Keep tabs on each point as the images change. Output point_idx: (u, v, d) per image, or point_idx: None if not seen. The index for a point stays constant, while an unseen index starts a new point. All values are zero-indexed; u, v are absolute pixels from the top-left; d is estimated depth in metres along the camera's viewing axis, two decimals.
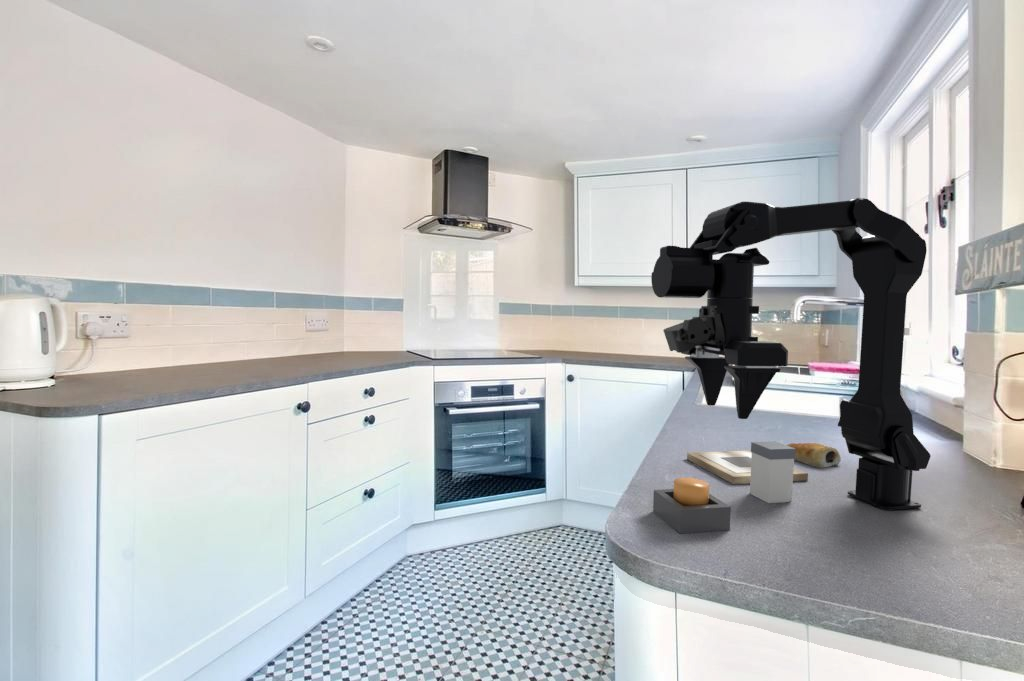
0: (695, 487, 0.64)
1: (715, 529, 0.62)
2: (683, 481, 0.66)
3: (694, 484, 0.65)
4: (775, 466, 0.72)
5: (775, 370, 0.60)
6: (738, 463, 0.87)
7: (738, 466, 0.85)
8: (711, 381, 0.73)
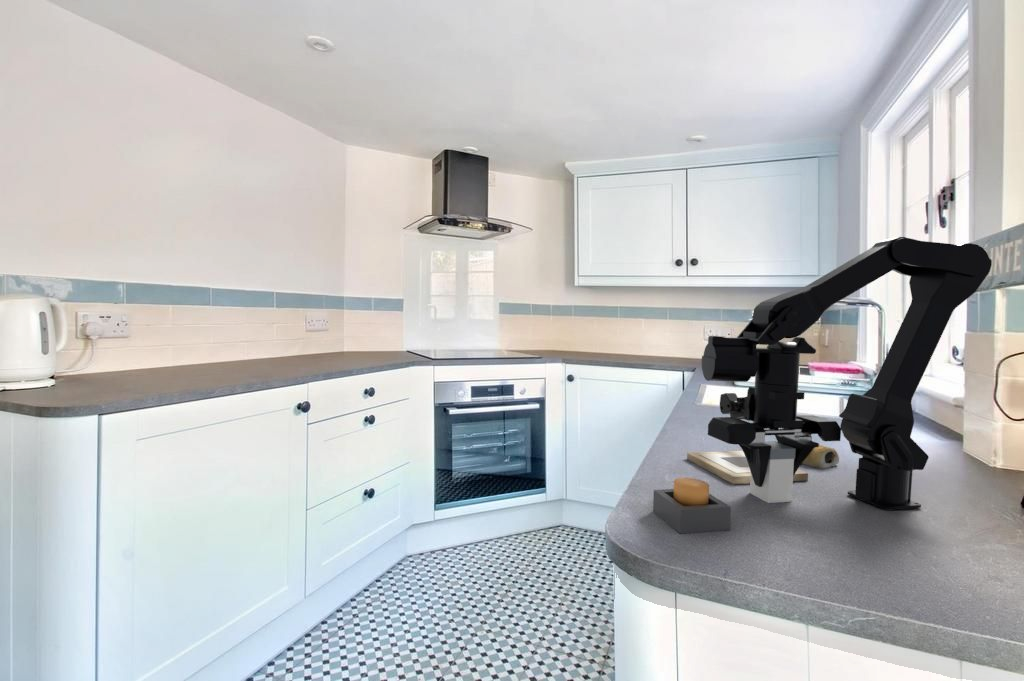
0: (695, 487, 0.64)
1: (715, 529, 0.62)
2: (683, 481, 0.66)
3: (694, 484, 0.65)
4: (775, 466, 0.72)
5: (749, 446, 0.71)
6: (738, 463, 0.87)
7: (738, 466, 0.85)
8: None
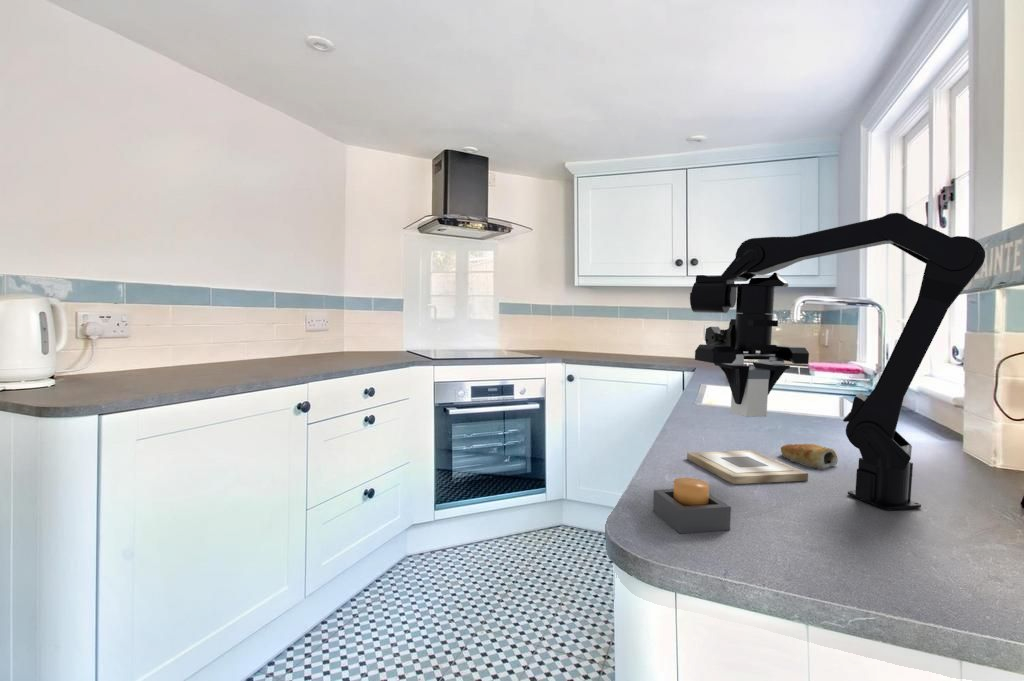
0: (695, 487, 0.64)
1: (715, 529, 0.62)
2: (683, 481, 0.66)
3: (694, 484, 0.65)
4: (752, 385, 0.83)
5: (730, 366, 0.82)
6: (738, 463, 0.87)
7: (738, 466, 0.85)
8: None
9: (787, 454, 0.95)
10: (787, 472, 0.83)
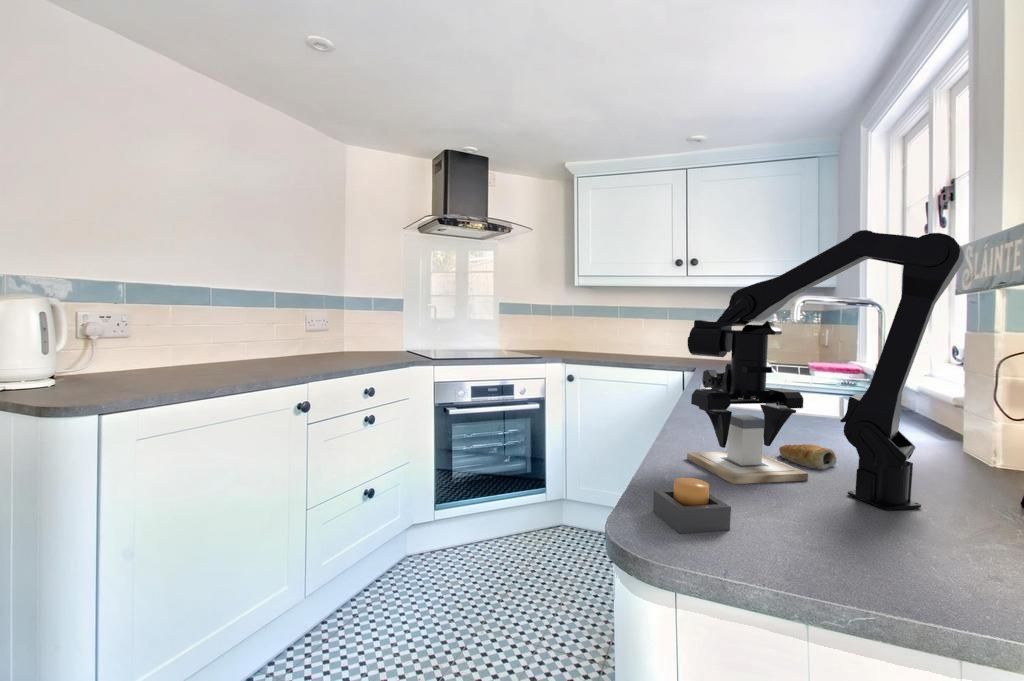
0: (695, 487, 0.64)
1: (715, 529, 0.62)
2: (683, 481, 0.66)
3: (694, 484, 0.65)
4: (747, 434, 0.86)
5: (713, 412, 0.84)
6: None
7: (738, 466, 0.85)
8: (768, 426, 0.89)
9: (786, 454, 0.94)
10: (787, 472, 0.83)
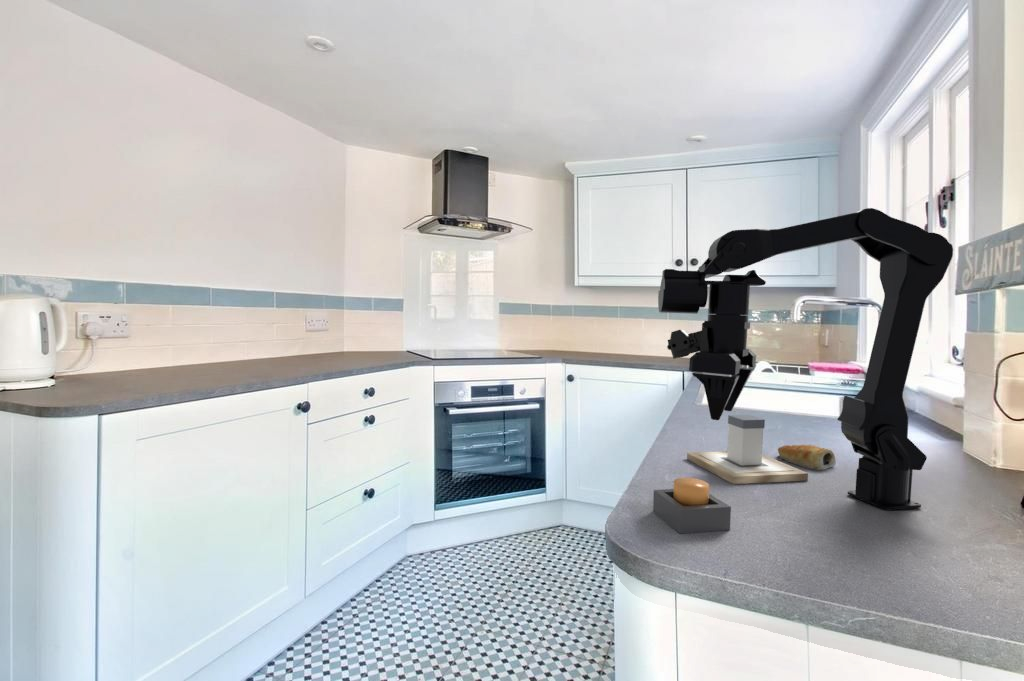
0: (695, 487, 0.64)
1: (715, 529, 0.62)
2: (683, 481, 0.66)
3: (694, 484, 0.65)
4: (747, 434, 0.86)
5: (727, 378, 0.69)
6: None
7: (738, 466, 0.85)
8: None
9: (785, 455, 0.94)
10: (787, 472, 0.83)
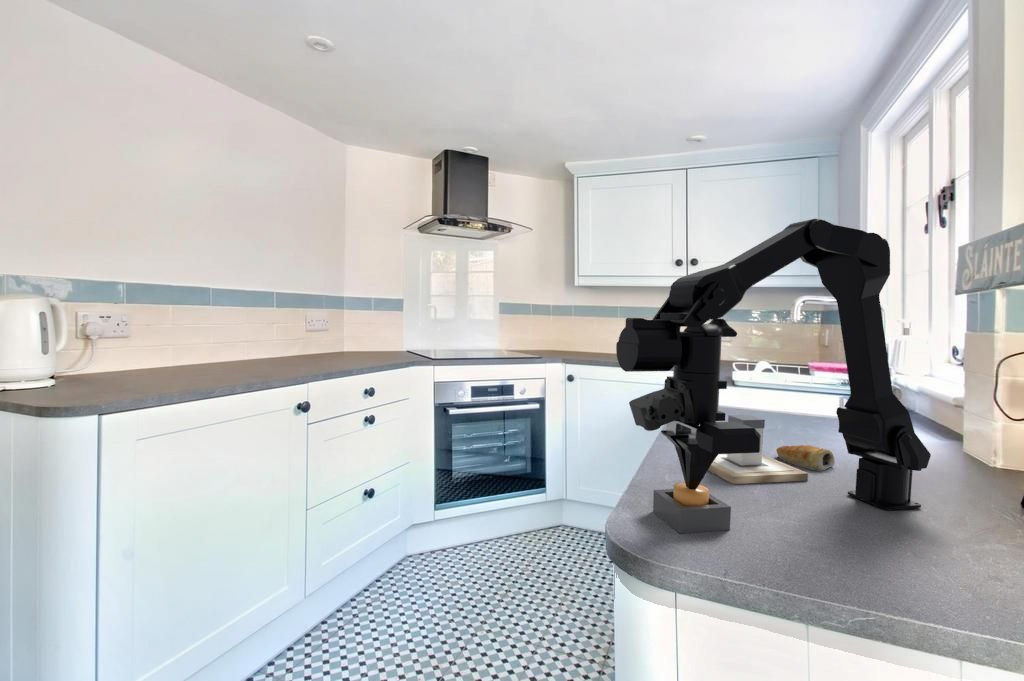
0: (694, 492, 0.64)
1: (715, 529, 0.62)
2: (683, 486, 0.66)
3: (694, 489, 0.65)
4: None
5: None
6: None
7: (738, 466, 0.85)
8: None
9: (784, 455, 0.93)
10: (787, 472, 0.83)
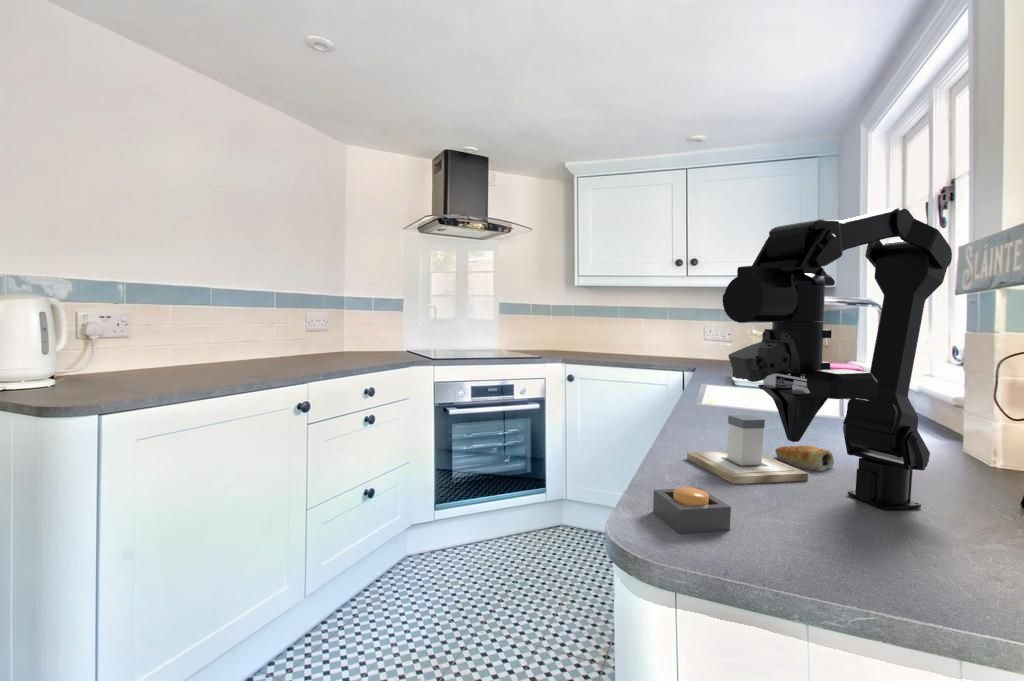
0: (694, 497, 0.64)
1: (715, 529, 0.62)
2: (683, 491, 0.66)
3: (694, 493, 0.65)
4: (747, 434, 0.86)
5: None
6: None
7: (738, 466, 0.85)
8: None
9: (783, 456, 0.93)
10: (787, 472, 0.83)
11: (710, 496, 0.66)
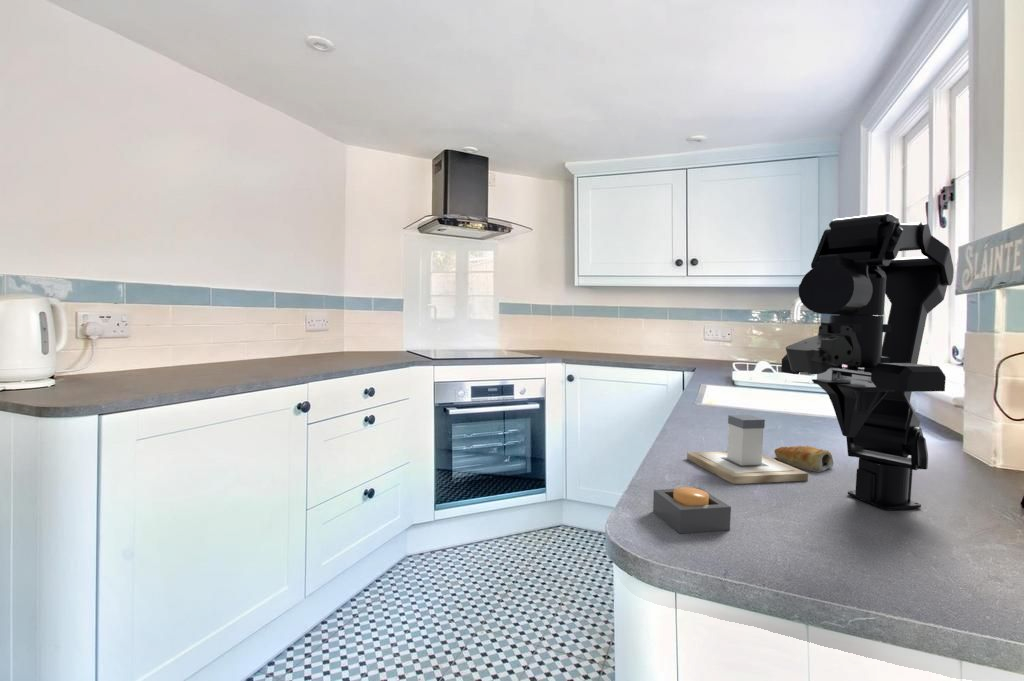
0: (694, 497, 0.64)
1: (715, 529, 0.62)
2: (683, 491, 0.66)
3: (694, 493, 0.65)
4: (747, 434, 0.86)
5: None
6: None
7: (738, 466, 0.85)
8: None
9: (783, 457, 0.93)
10: (787, 472, 0.83)
11: (710, 496, 0.66)
